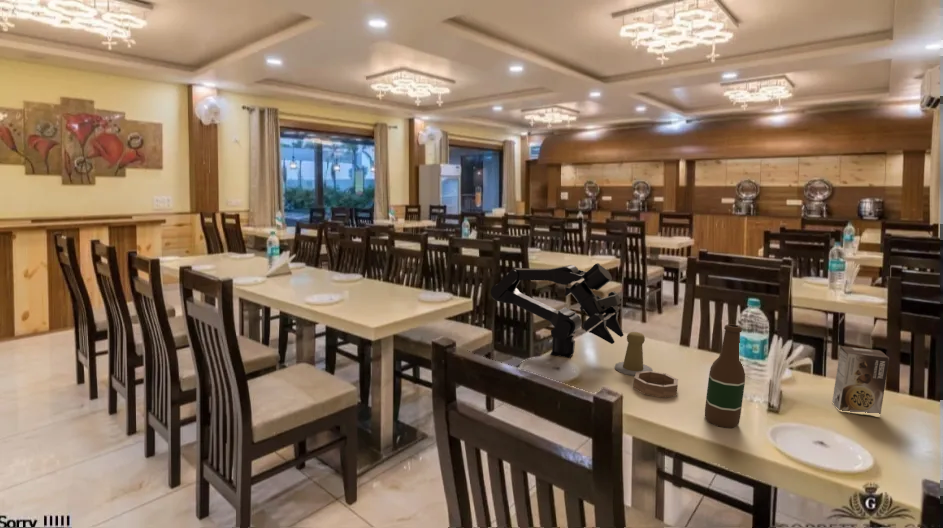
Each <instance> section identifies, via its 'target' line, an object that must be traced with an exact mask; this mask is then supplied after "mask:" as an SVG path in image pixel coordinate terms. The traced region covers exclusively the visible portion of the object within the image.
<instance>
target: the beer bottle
mask: <svg viewBox="0 0 943 528" xmlns="http://www.w3.org/2000/svg"><path fill="white" fill-rule="evenodd" d="M723 329H724V335H723V340H722V345H721V350H720V353H719V356H718V357H717V358H716V359H715V360H714V361H713V362H712V364H711V365H710V369H709V372H708V373H709V374H708V380H707V381H708V382H707V387H706V388H707V389H706V397H705V405H704V406H705V407H704V418H705V419H706V420H707V422H708V423H709V424H711V423H712V425H715V426H716V427H719V428H727V429H734V428H735V427H737V426H739V424H740V420H741V413H742V407H743V400H744V391H745V386H746V385H745V383H746V373H745V369H744V365H743V366H742V364H741V360H740V361H739V343H740V340H741V333H742V327H741V326H739V325H738V324H732V323H728V324H725V325H724V327H723Z"/></svg>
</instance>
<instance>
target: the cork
mask: <svg viewBox="0 0 943 528" xmlns="http://www.w3.org/2000/svg"><path fill="white" fill-rule="evenodd" d="M645 339H646V337H645V335H644V334H643V333H641V332H637V331H631V332H629V333H628V334H627V335H626V341H627V347H626V351H625V355H624V358H623V362H624V363H623V367H624V368H625V369H627V370H631V371H642V370H643V364H644V352H643V344H644V343H645V342H646V341H645Z"/></svg>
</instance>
